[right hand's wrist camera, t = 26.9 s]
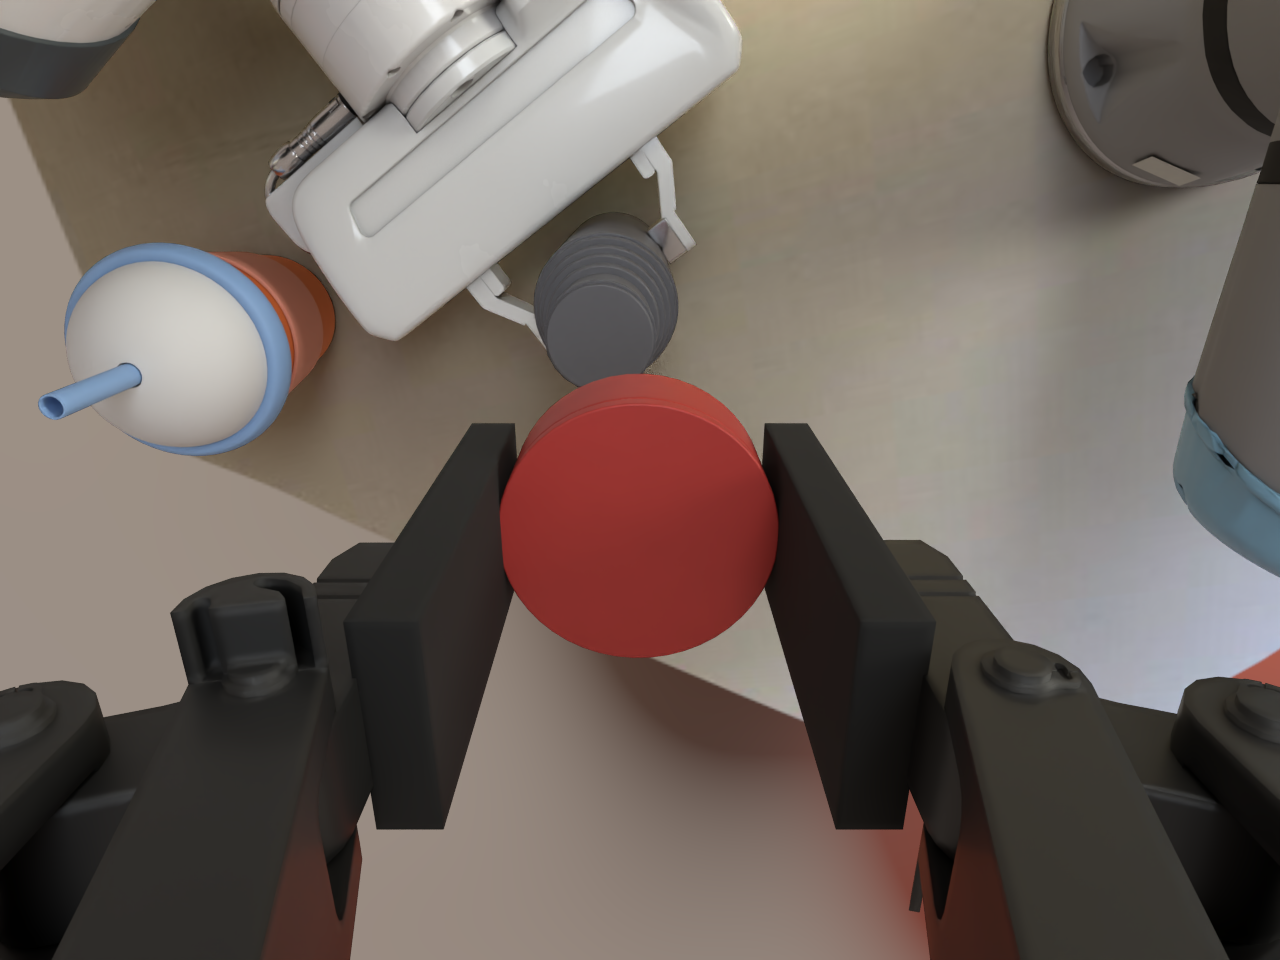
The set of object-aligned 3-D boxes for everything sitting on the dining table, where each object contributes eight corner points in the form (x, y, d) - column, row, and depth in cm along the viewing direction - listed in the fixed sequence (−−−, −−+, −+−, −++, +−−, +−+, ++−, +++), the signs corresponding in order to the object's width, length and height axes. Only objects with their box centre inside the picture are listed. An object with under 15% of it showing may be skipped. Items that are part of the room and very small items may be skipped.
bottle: (686, 270, 42) (724, 347, 24) (610, 337, 44) (594, 456, 26) (618, 189, 41) (606, 207, 23) (542, 260, 42) (474, 331, 24)
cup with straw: (200, 383, 44) (-64, 516, 27) (186, 214, 41) (-124, 248, 24) (364, 403, 45) (202, 544, 28) (363, 237, 41) (179, 285, 25)
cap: (462, 487, 14) (438, 531, 12) (646, 317, 13) (647, 340, 11) (632, 643, 15) (630, 703, 14) (812, 500, 14) (836, 547, 13)
